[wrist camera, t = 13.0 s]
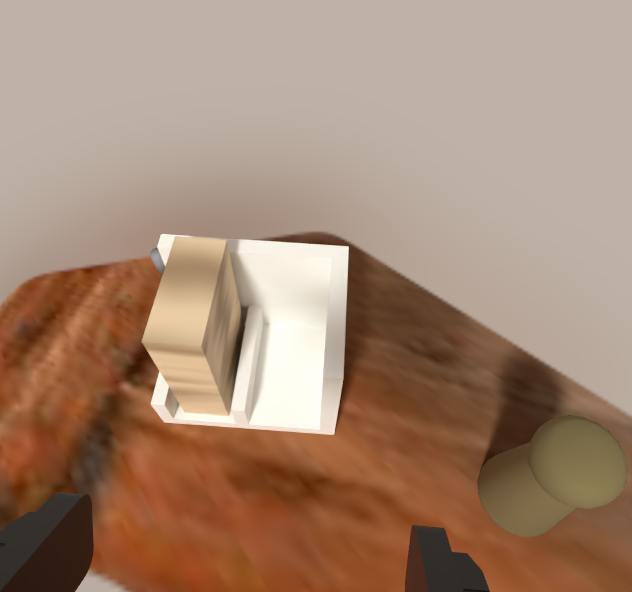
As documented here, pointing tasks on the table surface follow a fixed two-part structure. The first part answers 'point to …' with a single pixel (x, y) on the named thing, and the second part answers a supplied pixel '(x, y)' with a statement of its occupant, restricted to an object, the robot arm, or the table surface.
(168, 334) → the block
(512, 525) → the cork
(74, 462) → the table surface
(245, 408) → the white open box
